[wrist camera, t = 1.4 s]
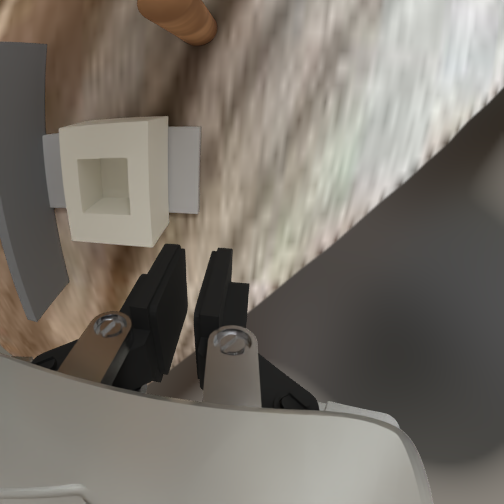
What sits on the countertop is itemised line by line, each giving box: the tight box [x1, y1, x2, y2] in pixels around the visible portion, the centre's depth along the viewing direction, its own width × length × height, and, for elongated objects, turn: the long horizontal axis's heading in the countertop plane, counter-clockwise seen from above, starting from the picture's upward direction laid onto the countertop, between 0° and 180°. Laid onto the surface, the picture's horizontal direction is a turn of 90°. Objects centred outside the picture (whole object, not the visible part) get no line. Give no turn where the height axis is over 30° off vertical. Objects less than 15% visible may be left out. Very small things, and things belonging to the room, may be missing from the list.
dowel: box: [137, 0, 217, 46], centre depth 16 cm, size 3×3×10 cm
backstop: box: [0, 42, 201, 322], centre depth 23 cm, size 28×18×8 cm, turn 176°
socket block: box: [59, 116, 169, 248], centre depth 24 cm, size 10×8×5 cm
